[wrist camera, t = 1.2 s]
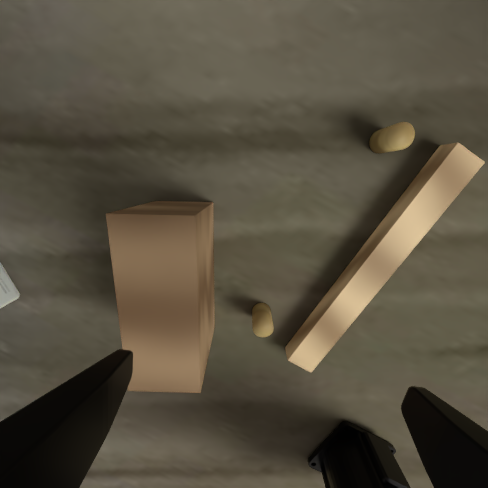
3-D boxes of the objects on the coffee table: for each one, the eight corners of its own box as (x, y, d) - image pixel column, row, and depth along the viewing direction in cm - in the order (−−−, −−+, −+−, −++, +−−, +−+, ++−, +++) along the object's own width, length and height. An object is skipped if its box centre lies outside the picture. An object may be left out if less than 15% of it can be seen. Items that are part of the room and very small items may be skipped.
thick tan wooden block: (214, 326, 22) (200, 392, 15) (162, 325, 22) (125, 390, 15) (213, 202, 19) (195, 215, 12) (153, 200, 19) (102, 213, 12)
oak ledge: (306, 359, 23) (313, 381, 20) (241, 324, 22) (240, 342, 19) (464, 163, 18) (498, 161, 16) (389, 108, 17) (413, 97, 15)
